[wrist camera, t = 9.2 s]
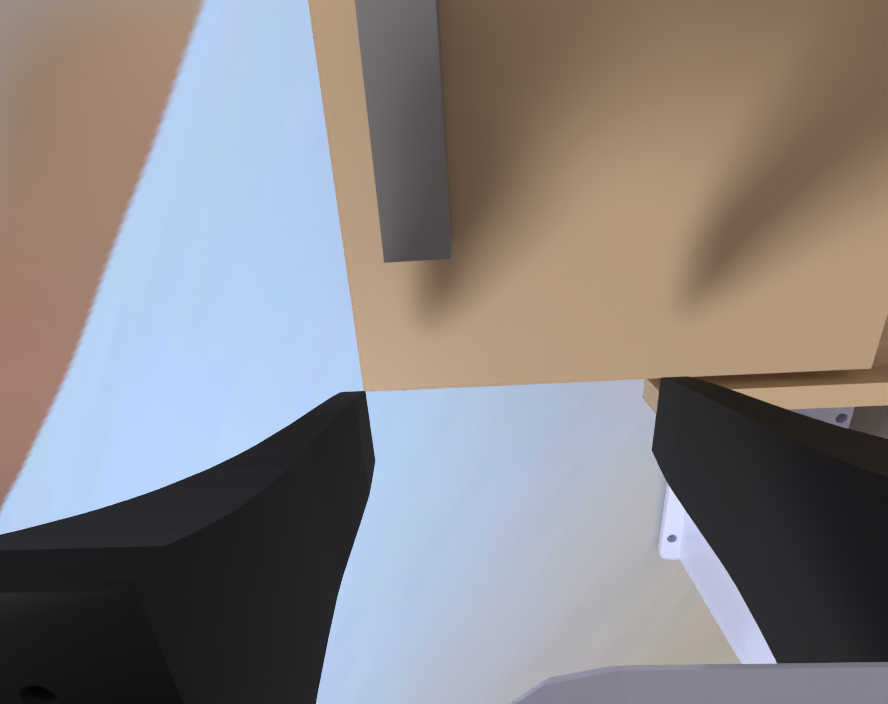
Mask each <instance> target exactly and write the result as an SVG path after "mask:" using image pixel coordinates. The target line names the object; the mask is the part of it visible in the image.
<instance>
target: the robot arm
mask: <svg viewBox="0 0 888 704" xmlns="http://www.w3.org/2000/svg"><path fill="white" fill-rule="evenodd" d="M854 408H855V407H837V408H813V409H789V410H787V409H784V408H781V407H779V406H776V405H773V404H770V403H767V402H765V401H762V400H759V399H756V398H753V397H751V396H748V395H745V394H742V393H740V392H737V391H734V390H731V389H728V388H726V387H723V386H720V385H717V384H714V383H711V382H708V381H704V380H701V379H697V378H693V377H688V376H683V377H661V380H660V388H659V396H658V404H657V413H656V421H655V429H654V438H653V446H652V452H653V454H654V456H655V458H656V460H657V463H658V465H659V467H660V469H661V471H662V473H663V475H664V477H665V479H666V481H667V486H666V493H665V500H664V507H663V515H662V522H661V529H660V536H659V543H658V552H659V553H660V555H661V557H662V558H664V559H680V560H681V562H682V564H683V565H684V567H685V569H686V570H687V572H688V574H689V575H690V577H691V579H692V581H693V582H694V584H695V586H696V587H697V589H698V591H699V592H700V594H701V596H702V598H703V599H704V601H705V603H706V604H707V606H708V608H709V609H710V611H711V613H712V615H713V616H714V618H715V620H716V621H717V623H718V625H719V626H720V628H721V630H722V632H723V633H724V635H725V637H726V638H727V640H728V642H729V644H730V645H731V647H732V649H733V650H734V652H735V654H736V655H737V657H738V658H739V660H740V661H741V663H742V664H705V665H633V666H610V667H604V668H599V669H594V670H588V671H583V672H578V673H573V674H567V675H562V676H557V677H551V678H548V679H547V680H545V681H544V682H542V683H541V684H539V685H538V686H536V687H535V688H533V689H531V690H530V691H528V692H527V693H525V694H524V695H522V696H521V697H519V698H518V699H516V700H515V701H513V702H512V703H510V704H888V439H885V438H881V437H877V436H873V435H869V434H866V433H862V432H858V431H854V430H851V429H848V428H849V425H850V421H851V418H852V415H853V411H854ZM839 414H840V416H839V417H838V418H836V417H837V416H838V415H839ZM374 465H375V456H374V449H373V442H372V435H371V428H370V421H369V414H368V407H367V400H366V393H365V391H356V392H341V393H338V394H336V395H335V396H333V397H331V398H329V399H328V400H326V401H325V402H323V403H322V404H320V405H319V406H317V407H316V408H314V409H313V410H311V411H310V412H308V413H307V414H305V415H304V416H302V417H301V418H299V419H298V420H296V421H295V422H293V423H292V424H290V425H289V426H287V427H285V428H284V429H282V430H280V431H279V432H277V433H275V434H274V435H272V436H270V437H269V438H267V439H265V440H264V441H262V442H260V443H259V444H257V445H255V446H253V447H252V448H250V449H248V450H246V451H244V452H242V453H240V454H239V455H237V456H235V457H233V458H230V459H228V460H226V461H224V462H222V463H220V464H218V465H216V466H214V467H212V468H210V469H207V470H205V471H203V472H200V473H198V474H195V475H193V476H190V477H188V478H185V479H183V480H180V481H178V482H176V483H173V484H171V485H168V486H166V487H163V488H161V489H158V490H155V491H152V492H150V493H147V494H144V495H141V496H138V497H135V498H132V499H129V500H126V501H123V502H120V503H117V504H114V505H110V506H107V507H104V508H101V509H98V510H94V511H91V512H87V513H84V514H81V515H77V516H73V517H69V518H65V519H61V520H58V521H54V522H50V523H46V524H42V525H38V526H34V527H31V528H27V529H23V530H19V531H15V532H10V533H6V534H2V535H0V704H316V699H317V693H318V688H319V683H320V678H321V673H322V668H323V663H324V658H325V653H326V647H327V642H328V637H329V633H330V628H331V624H332V619H333V614H334V610H335V605H336V600H337V596H338V592H339V589H340V585H341V581H342V578H343V574H344V571H345V568H346V565H347V562H348V559H349V556H350V553H351V550H352V547H353V544H354V541H355V538H356V535H357V532H358V529H359V526H360V523H361V520H362V516H363V513H364V510H365V507H366V504H367V501H368V497H369V494H370V488H371V483H372V477H373V471H374ZM670 535H672V536H670ZM668 536H670V537H668Z"/></svg>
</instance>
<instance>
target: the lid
mask: <svg viewBox="0 0 888 704" xmlns="http://www.w3.org/2000/svg"><path fill="white" fill-rule="evenodd" d="M308 3H309V10H310V17H311V24H312V31H313V38H314V45H315V52H316V59H317V66H318V73H319V80H320V87H321V94H322V101H323V108H324V115H325V121H326V128H327V135H328V142H329V149H330V156H331V163H332V170H333V177H334V184H335V191H336V198H337V205H338V212H339V219H340V226H341V233H342V240H343V247H344V254H345V261H346V268H347V275H348V282H349V289H350V296H351V303H352V310H353V317H354V324H355V331H356V338H357V345H358V352H359V359H360V366H361V373H362V380H363V387H364V391H365V392H370V391H392V390H414V389H436V388H458V387H480V386H501V385H523V384H545V383H567V382H589V381H611V380H633V379H655V378H661V377H683V376H688V377H698V376H720V375H742V374H764V373H786V372H808V371H829V370H851V369H871V367H872V364H873V361H874V357H875V354H876V351H877V348H878V344H879V341H880V338H881V334H882V331H883V328H884V325H885V321H886V318H887V315H888V0H308Z"/></svg>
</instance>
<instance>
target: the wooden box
mask: <svg viewBox="0 0 888 704" xmlns="http://www.w3.org/2000/svg"><path fill="white" fill-rule="evenodd" d="M693 378H697V379H701V380H704V381H708V382H711V383H714V384H717V385H720V386H723V387H726V388H728V389H731V390H734V391H737V392H740V393H742V394H745V395H748V396H751V397H753V398H756V399H759V400H762V401H765V402H767V403H770V404H773V405H776V406H779V407H781V408H784V409H787V410H789V409H813V408H837V407H861V406H885V405H888V315H887V318H886V321H885V325H884V328H883V331H882V334H881V338H880V341H879V344H878V348H877V351H876V354H875V357H874V361H873V364H872V367H871V369H851V370H829V371H808V372H786V373H764V374H742V375H720V376H698V377H693ZM660 380H661V378H655V379H645V382H644V391H643V399H644V400H645V401H646V402H647V403H648V405H649V406H650V407H651V408H652V409H653V410H654V412H655V413H657V404H658V396H659V388H660Z"/></svg>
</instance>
